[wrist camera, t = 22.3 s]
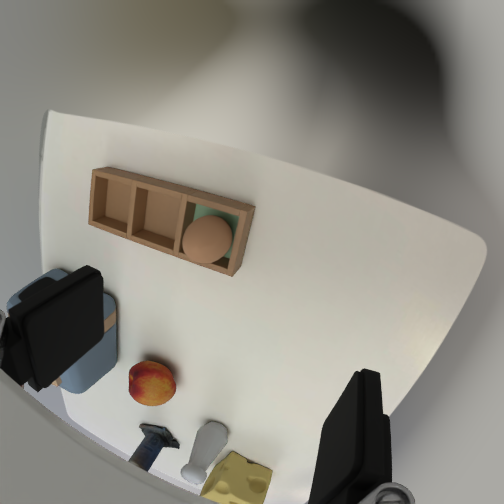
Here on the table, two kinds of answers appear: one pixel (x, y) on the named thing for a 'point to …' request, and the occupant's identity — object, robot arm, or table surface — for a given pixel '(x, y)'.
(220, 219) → the egg
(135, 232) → the compartment tray
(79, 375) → the blue toy backpack
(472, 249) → the table surface
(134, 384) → the fruit
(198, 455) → the salt shaker
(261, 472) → the cheese
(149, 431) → the dark blue cylinder
